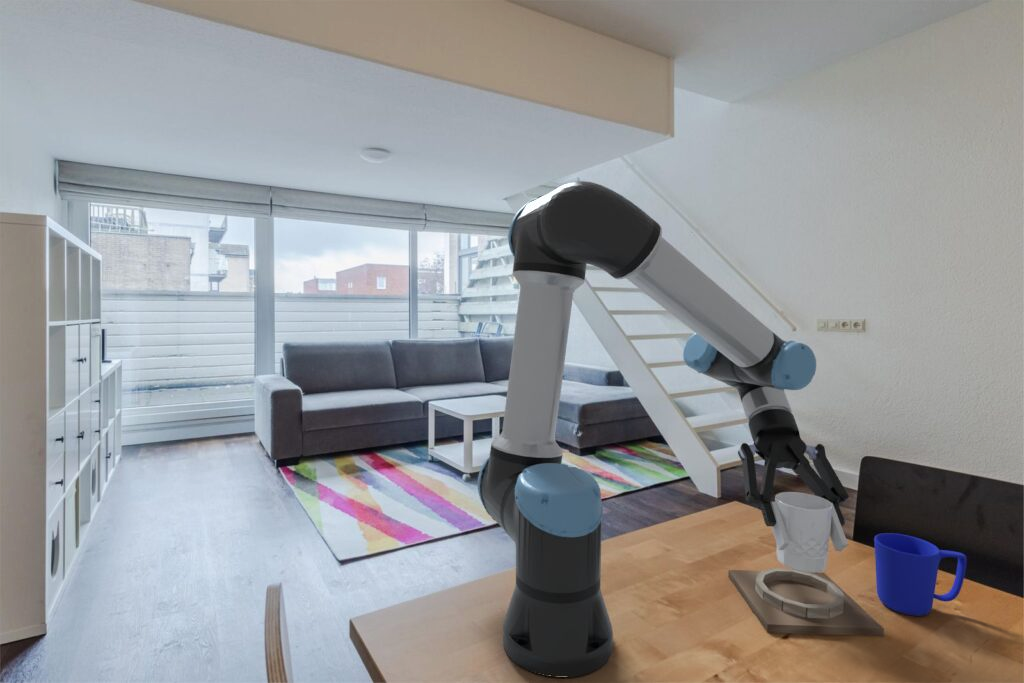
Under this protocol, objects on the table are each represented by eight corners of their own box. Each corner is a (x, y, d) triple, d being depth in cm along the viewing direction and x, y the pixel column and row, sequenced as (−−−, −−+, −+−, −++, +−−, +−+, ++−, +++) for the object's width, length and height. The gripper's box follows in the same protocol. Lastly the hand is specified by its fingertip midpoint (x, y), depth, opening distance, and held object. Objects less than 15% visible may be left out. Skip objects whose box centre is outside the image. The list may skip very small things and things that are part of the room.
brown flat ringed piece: (767, 632, 76) (767, 614, 76) (728, 576, 92) (728, 561, 92) (883, 636, 75) (884, 618, 75) (823, 579, 91) (824, 564, 91)
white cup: (830, 559, 84) (833, 497, 84) (829, 580, 78) (831, 513, 77) (775, 547, 89) (778, 488, 88) (769, 566, 82) (771, 503, 81)
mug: (980, 628, 77) (983, 560, 77) (886, 618, 80) (889, 553, 79) (946, 598, 85) (949, 537, 85) (862, 590, 88) (865, 530, 87)
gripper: (821, 430, 97) (872, 557, 82) (706, 429, 98) (735, 554, 83) (838, 406, 91) (896, 539, 76) (716, 406, 92) (749, 536, 77)
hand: (812, 547), depth 80 cm, fingers closed on white cup, 8 cm apart
